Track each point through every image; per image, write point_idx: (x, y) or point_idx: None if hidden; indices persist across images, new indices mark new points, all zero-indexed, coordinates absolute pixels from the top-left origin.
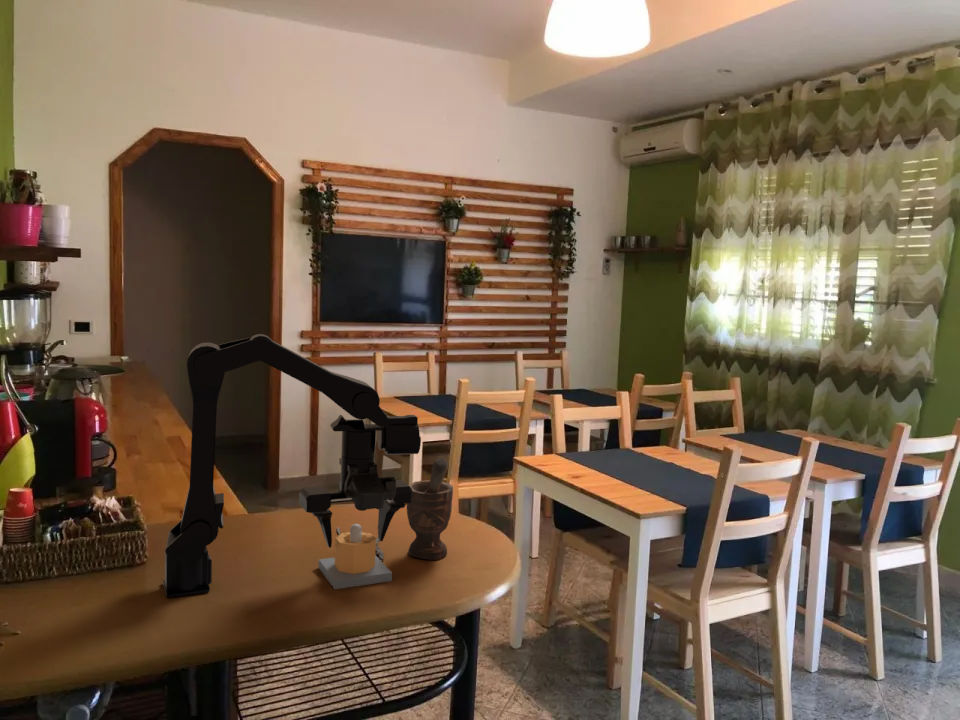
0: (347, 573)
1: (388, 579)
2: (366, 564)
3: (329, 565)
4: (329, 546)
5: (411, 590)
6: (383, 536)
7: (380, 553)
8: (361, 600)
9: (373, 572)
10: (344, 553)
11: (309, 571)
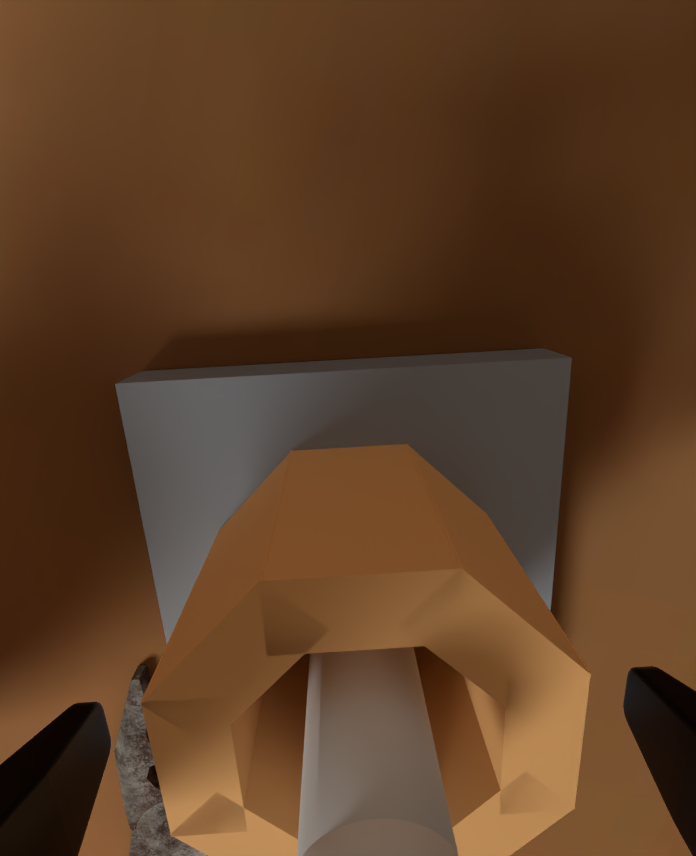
0: (442, 461)
1: (161, 371)
2: (302, 472)
3: None
4: (660, 671)
5: (24, 162)
6: (38, 743)
7: (134, 748)
8: (430, 102)
9: (256, 424)
10: (506, 568)
11: (584, 638)
